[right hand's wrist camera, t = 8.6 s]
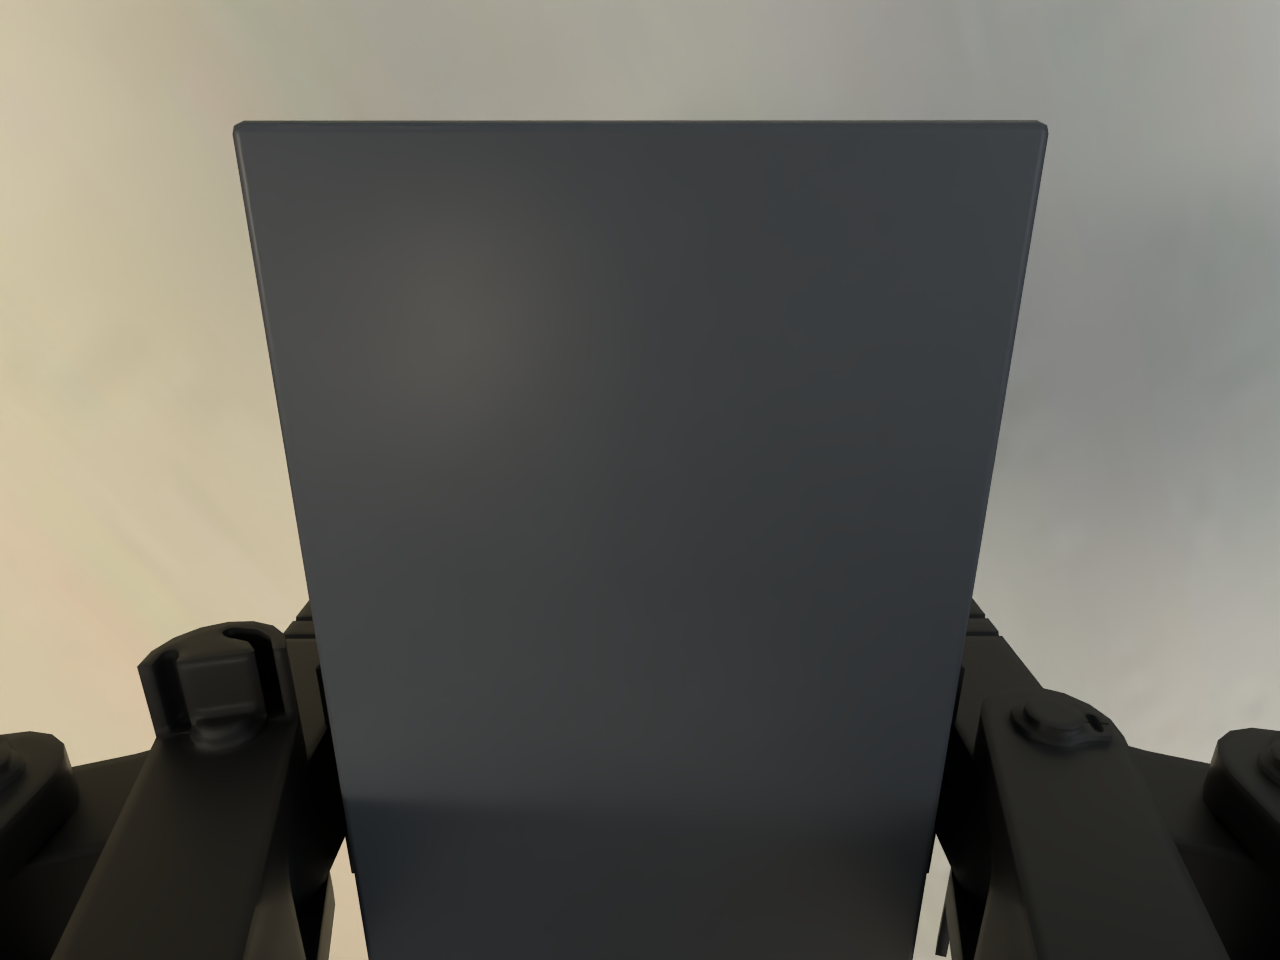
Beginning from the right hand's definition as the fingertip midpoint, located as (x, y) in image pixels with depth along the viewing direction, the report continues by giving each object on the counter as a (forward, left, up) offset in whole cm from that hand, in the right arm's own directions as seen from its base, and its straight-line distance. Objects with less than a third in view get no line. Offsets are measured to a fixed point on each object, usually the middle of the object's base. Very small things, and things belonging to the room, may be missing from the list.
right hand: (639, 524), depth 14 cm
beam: (+11, -34, -1) cm, 36 cm away
